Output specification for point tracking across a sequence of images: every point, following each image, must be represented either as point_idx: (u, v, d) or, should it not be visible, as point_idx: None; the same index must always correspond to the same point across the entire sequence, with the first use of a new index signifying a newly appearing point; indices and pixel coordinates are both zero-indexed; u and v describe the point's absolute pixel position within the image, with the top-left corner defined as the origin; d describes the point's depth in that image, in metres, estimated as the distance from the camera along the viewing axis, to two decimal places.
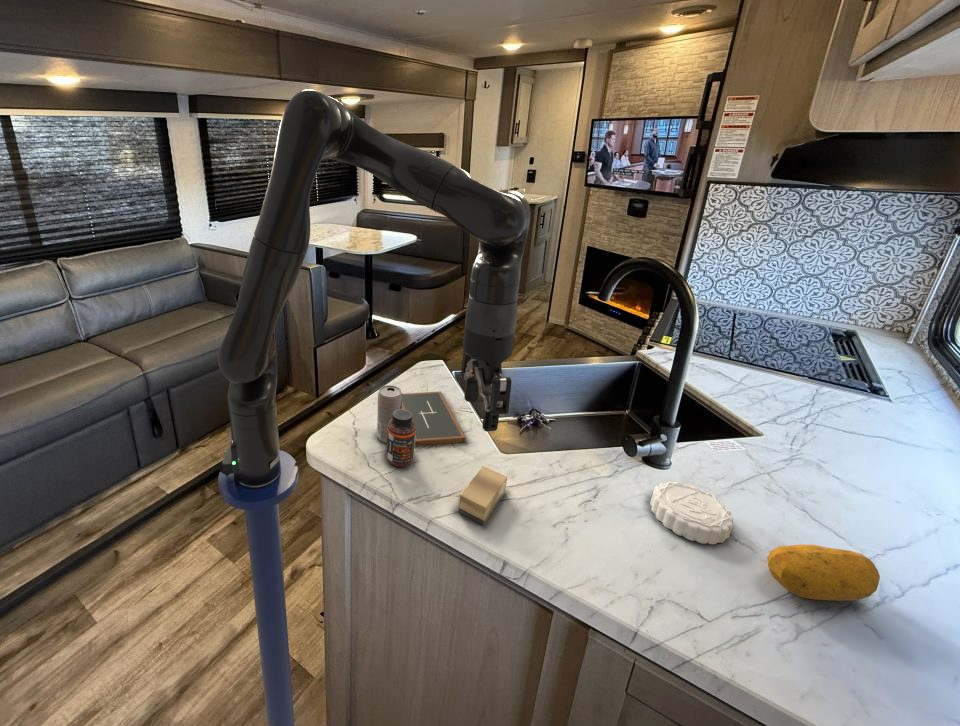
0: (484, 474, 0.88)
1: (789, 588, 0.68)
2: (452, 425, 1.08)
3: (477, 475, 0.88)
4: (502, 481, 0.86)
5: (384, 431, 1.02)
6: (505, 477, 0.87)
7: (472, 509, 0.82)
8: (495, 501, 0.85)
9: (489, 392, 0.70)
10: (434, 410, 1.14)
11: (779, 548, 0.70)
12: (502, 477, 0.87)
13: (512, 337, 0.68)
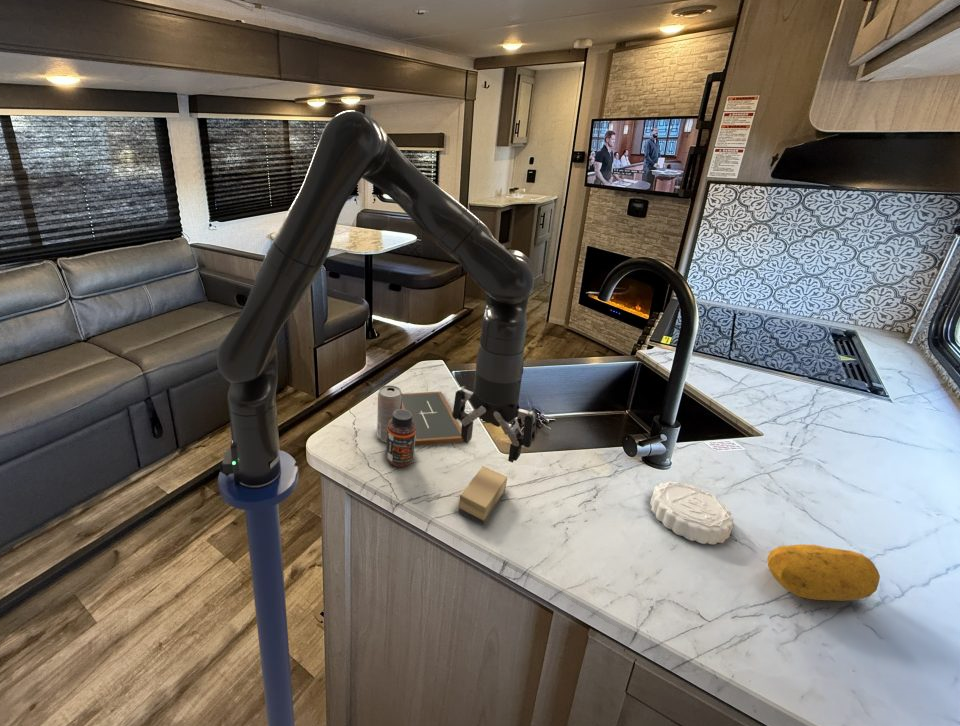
0: (484, 474, 0.88)
1: (789, 588, 0.68)
2: (452, 425, 1.08)
3: (477, 475, 0.88)
4: (502, 481, 0.86)
5: (384, 431, 1.02)
6: (505, 477, 0.87)
7: (472, 509, 0.82)
8: (495, 501, 0.85)
9: (513, 428, 0.78)
10: (434, 410, 1.14)
11: (779, 548, 0.70)
12: (502, 477, 0.87)
13: None
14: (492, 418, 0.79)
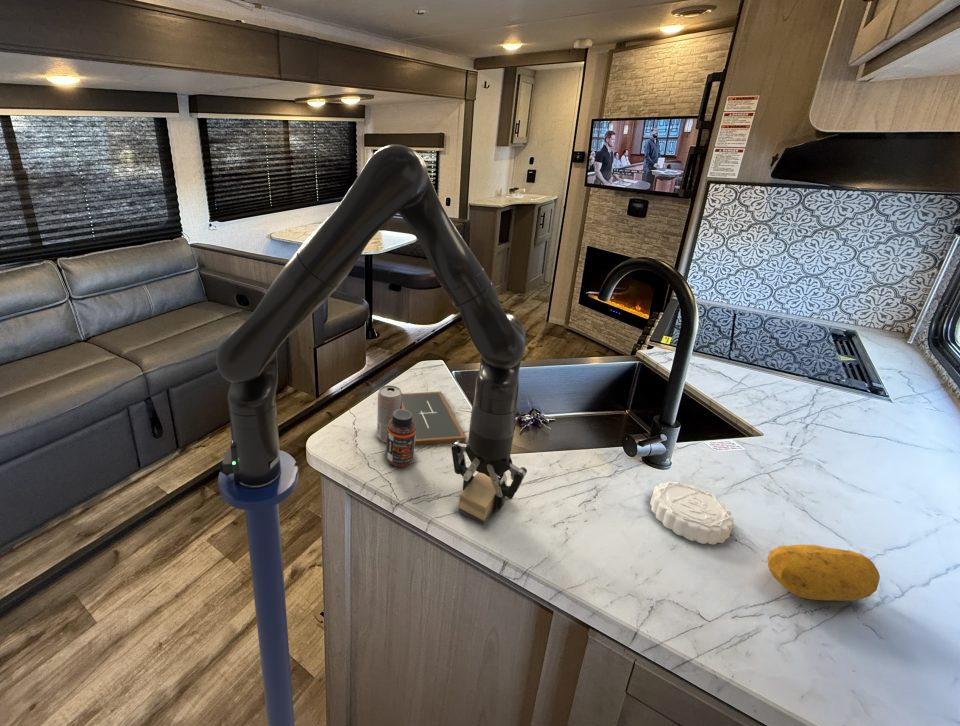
0: (484, 474, 0.88)
1: (789, 588, 0.68)
2: (452, 425, 1.08)
3: (477, 475, 0.88)
4: None
5: (384, 431, 1.02)
6: None
7: (472, 508, 0.82)
8: None
9: (500, 481, 0.82)
10: (434, 410, 1.14)
11: (779, 548, 0.70)
12: None
13: None
14: (485, 469, 0.83)
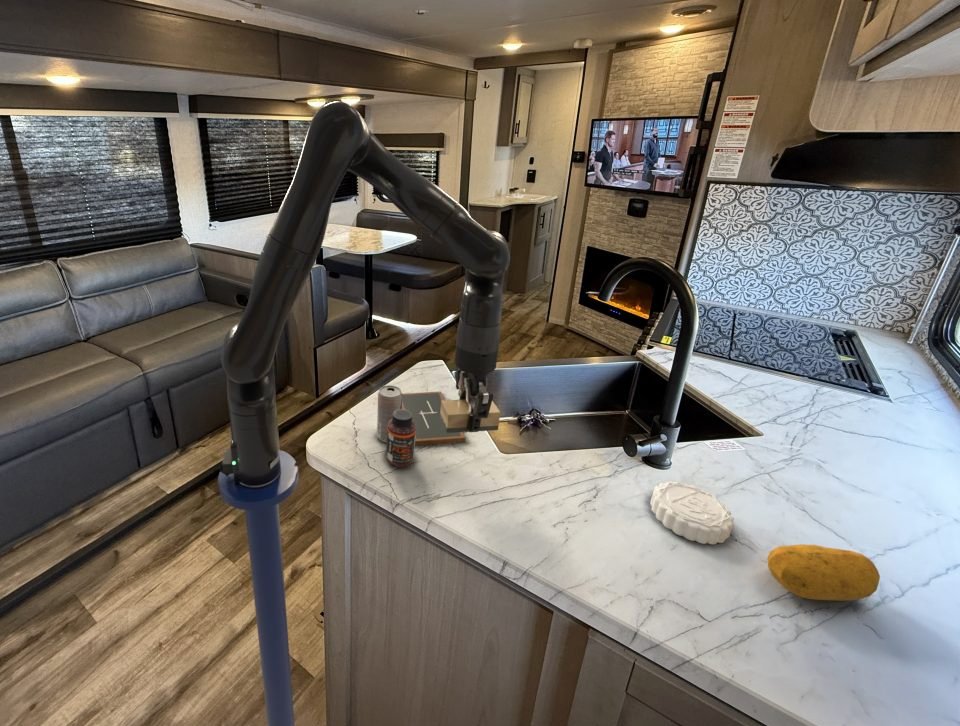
0: None
1: (789, 588, 0.68)
2: None
3: None
4: (490, 412, 0.86)
5: (384, 431, 1.02)
6: (497, 411, 0.86)
7: (444, 415, 0.87)
8: None
9: (474, 401, 0.84)
10: (434, 410, 1.14)
11: (779, 548, 0.70)
12: (495, 410, 0.86)
13: (495, 354, 0.81)
14: None
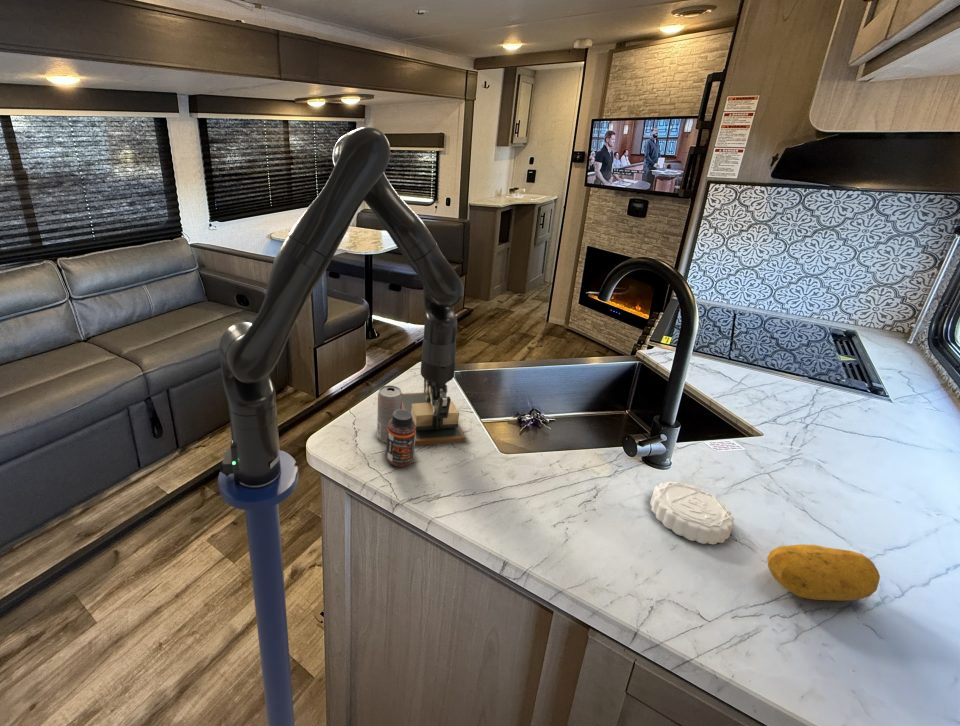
0: None
1: (789, 588, 0.68)
2: None
3: None
4: (451, 412, 1.05)
5: (384, 431, 1.02)
6: (457, 412, 1.05)
7: (413, 415, 1.06)
8: None
9: (436, 404, 1.03)
10: None
11: (779, 548, 0.70)
12: (454, 411, 1.05)
13: (452, 366, 1.00)
14: None
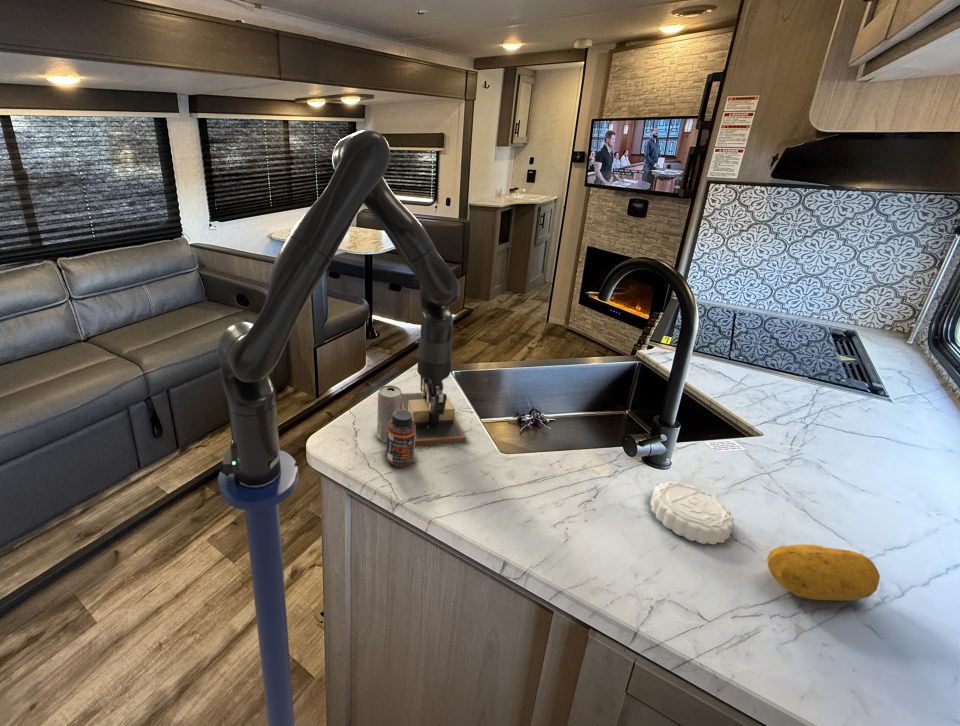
0: None
1: (789, 588, 0.68)
2: (452, 425, 1.08)
3: None
4: (447, 408, 1.07)
5: (384, 431, 1.02)
6: (452, 408, 1.07)
7: None
8: None
9: (433, 401, 1.05)
10: None
11: (779, 548, 0.70)
12: (450, 407, 1.08)
13: (448, 363, 1.02)
14: None
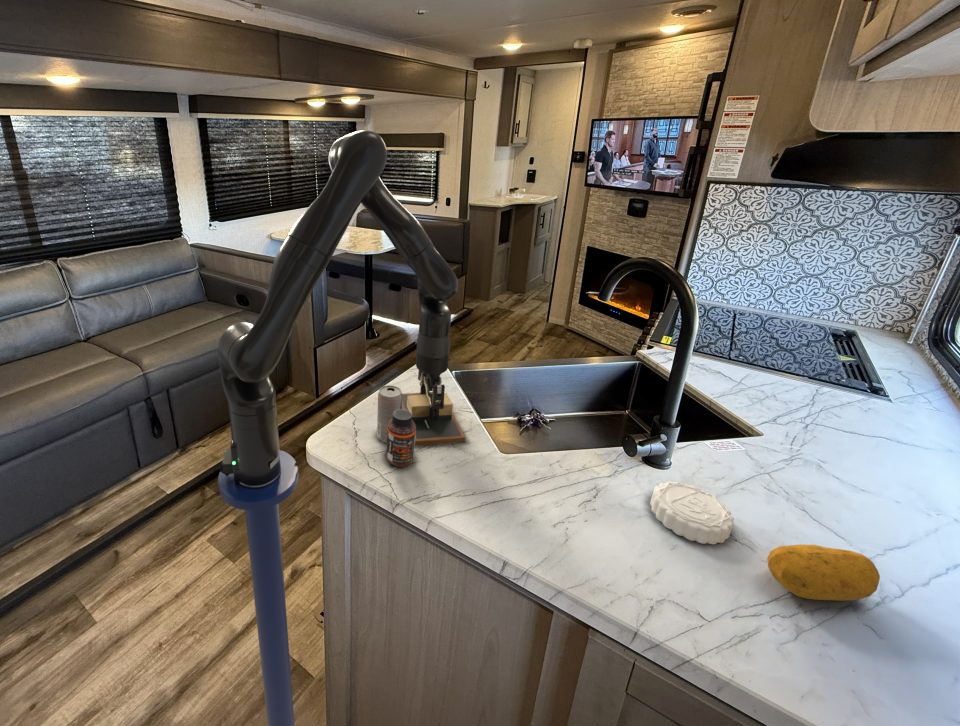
0: None
1: (789, 588, 0.68)
2: (452, 425, 1.08)
3: None
4: (445, 403, 1.09)
5: (384, 431, 1.02)
6: (450, 403, 1.09)
7: (409, 407, 1.11)
8: None
9: (432, 394, 1.06)
10: None
11: (779, 548, 0.70)
12: (448, 402, 1.10)
13: (446, 358, 1.04)
14: None
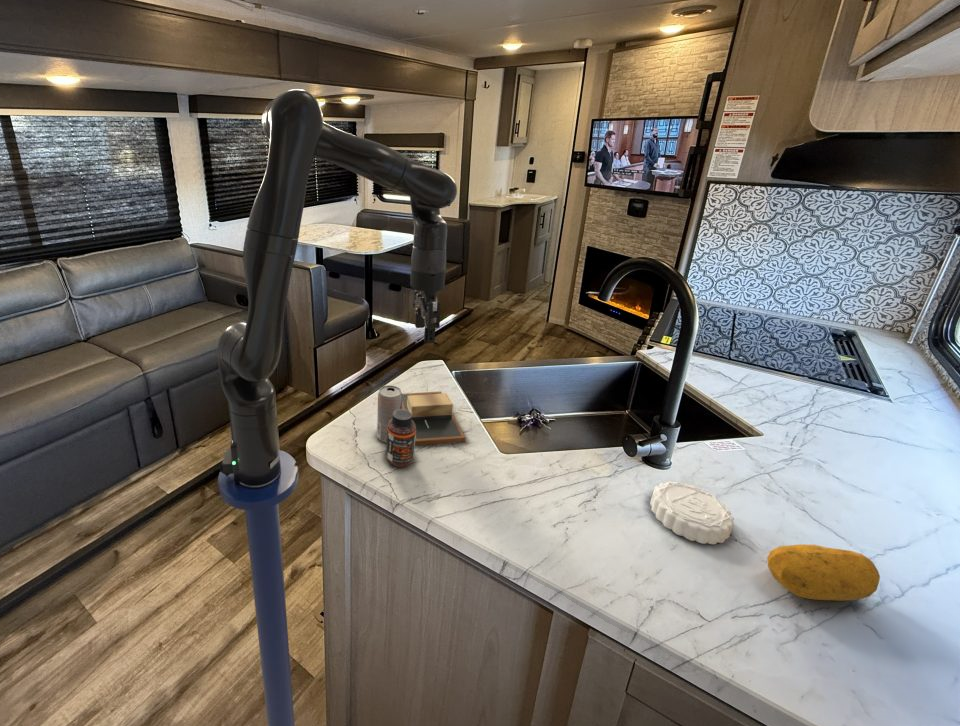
0: (439, 396, 1.12)
1: (789, 588, 0.68)
2: (452, 425, 1.08)
3: (434, 394, 1.13)
4: (445, 403, 1.09)
5: (384, 431, 1.02)
6: (450, 403, 1.09)
7: (409, 407, 1.11)
8: (431, 413, 1.09)
9: (427, 314, 0.99)
10: None
11: (779, 548, 0.70)
12: (448, 402, 1.10)
13: (442, 274, 0.98)
14: None
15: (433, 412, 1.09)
